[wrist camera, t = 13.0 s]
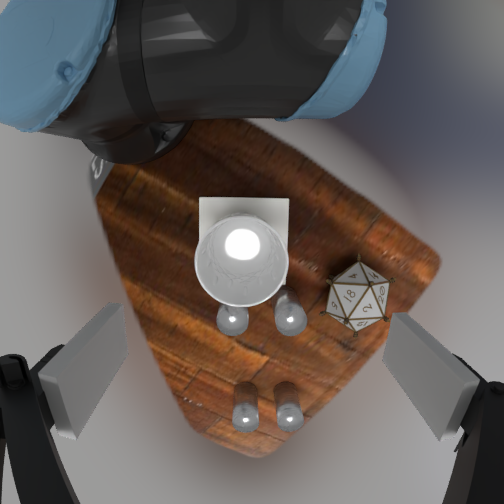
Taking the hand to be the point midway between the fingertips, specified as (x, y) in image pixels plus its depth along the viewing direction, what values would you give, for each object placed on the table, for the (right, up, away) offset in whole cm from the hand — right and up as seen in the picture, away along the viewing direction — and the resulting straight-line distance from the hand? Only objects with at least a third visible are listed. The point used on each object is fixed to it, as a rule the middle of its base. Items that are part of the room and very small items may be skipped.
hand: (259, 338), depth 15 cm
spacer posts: (+1, -8, +26) cm, 27 cm away
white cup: (-2, +5, +22) cm, 23 cm away
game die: (+11, 0, +25) cm, 27 cm away
